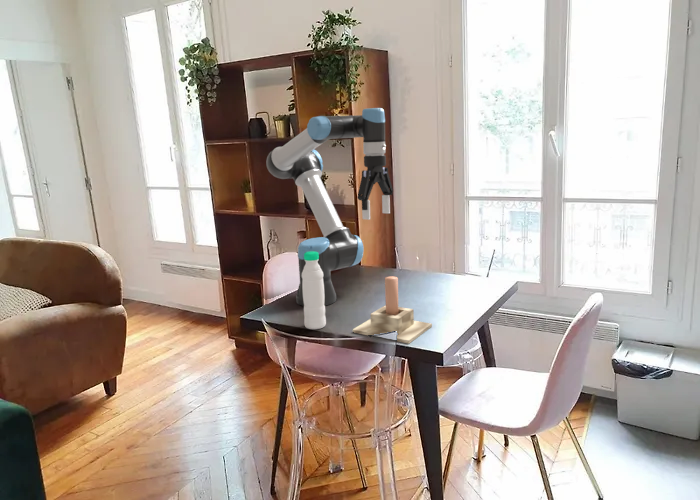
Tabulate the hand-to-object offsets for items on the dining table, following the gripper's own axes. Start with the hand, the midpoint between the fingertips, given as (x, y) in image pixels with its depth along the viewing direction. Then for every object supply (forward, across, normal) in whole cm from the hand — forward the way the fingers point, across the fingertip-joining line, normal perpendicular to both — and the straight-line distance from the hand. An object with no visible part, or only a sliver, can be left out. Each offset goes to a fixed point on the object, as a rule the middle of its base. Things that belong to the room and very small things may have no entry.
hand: (376, 216), depth 191 cm
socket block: (+33, -19, -16) cm, 41 cm away
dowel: (+32, -19, -16) cm, 40 cm away
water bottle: (+33, -28, +8) cm, 44 cm away
